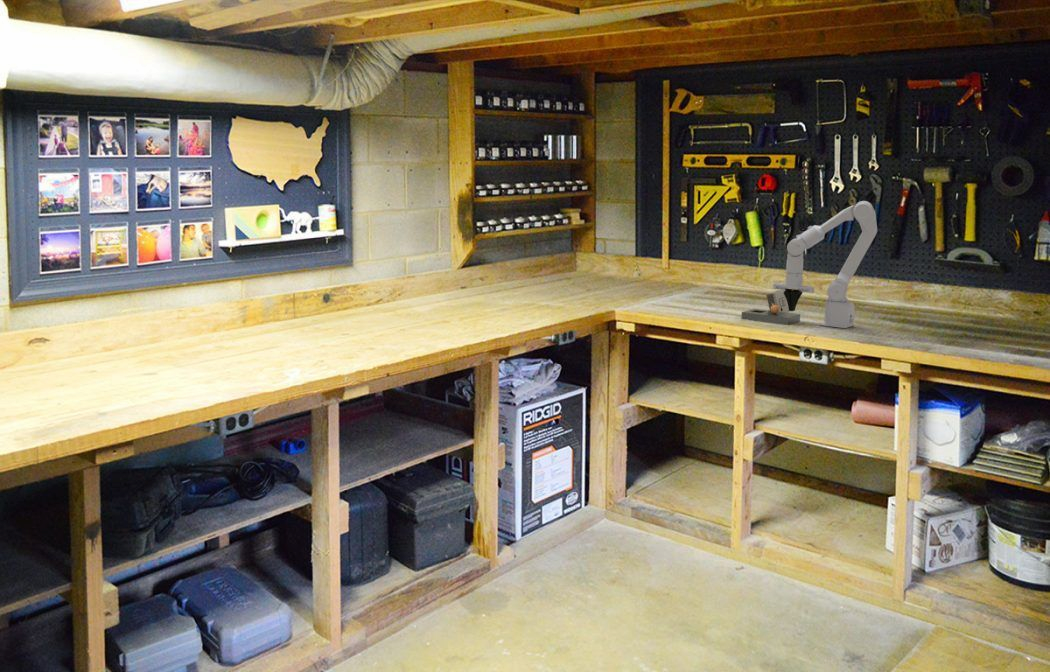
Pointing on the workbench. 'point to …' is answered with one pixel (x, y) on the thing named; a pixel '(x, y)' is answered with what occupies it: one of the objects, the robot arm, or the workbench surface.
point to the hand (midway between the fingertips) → (791, 310)
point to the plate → (771, 316)
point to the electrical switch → (778, 300)
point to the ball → (775, 309)
